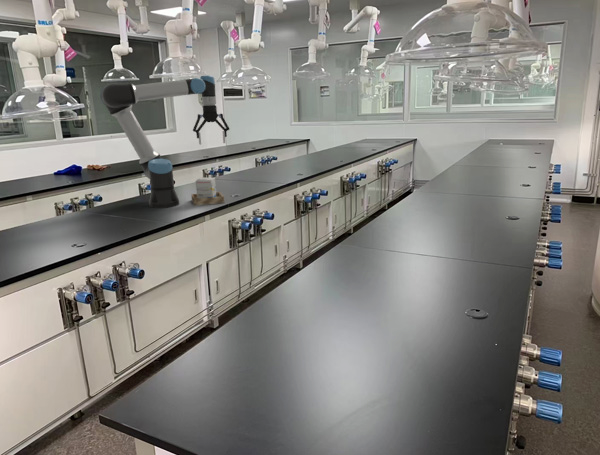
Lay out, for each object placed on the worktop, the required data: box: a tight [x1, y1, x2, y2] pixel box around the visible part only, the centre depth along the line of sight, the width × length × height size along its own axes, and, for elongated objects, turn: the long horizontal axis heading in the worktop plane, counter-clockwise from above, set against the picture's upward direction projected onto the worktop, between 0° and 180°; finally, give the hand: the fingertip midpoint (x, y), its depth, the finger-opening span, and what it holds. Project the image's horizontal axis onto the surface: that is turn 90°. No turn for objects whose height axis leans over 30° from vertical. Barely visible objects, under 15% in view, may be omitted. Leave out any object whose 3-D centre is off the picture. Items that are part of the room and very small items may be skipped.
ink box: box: [195, 177, 217, 199], centre depth 239 cm, size 9×8×12 cm
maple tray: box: [191, 191, 225, 206], centre depth 241 cm, size 16×14×3 cm
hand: (212, 143), depth 254 cm, fingers open, 13 cm apart
